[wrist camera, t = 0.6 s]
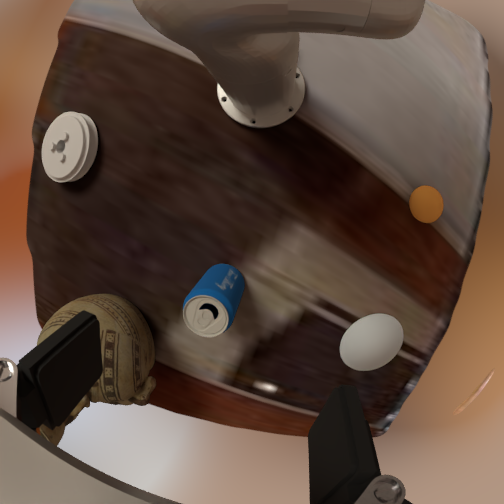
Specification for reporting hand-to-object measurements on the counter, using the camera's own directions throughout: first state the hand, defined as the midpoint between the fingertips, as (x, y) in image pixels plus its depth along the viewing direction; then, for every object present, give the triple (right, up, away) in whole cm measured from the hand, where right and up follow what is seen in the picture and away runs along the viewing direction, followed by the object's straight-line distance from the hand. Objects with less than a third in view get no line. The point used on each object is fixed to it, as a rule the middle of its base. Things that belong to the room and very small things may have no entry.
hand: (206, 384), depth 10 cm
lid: (-30, +24, +32) cm, 50 cm away
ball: (+27, +12, +25) cm, 39 cm away
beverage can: (-3, 0, +35) cm, 35 cm away
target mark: (+23, -11, +35) cm, 43 cm away
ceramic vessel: (-23, -9, +40) cm, 47 cm away
